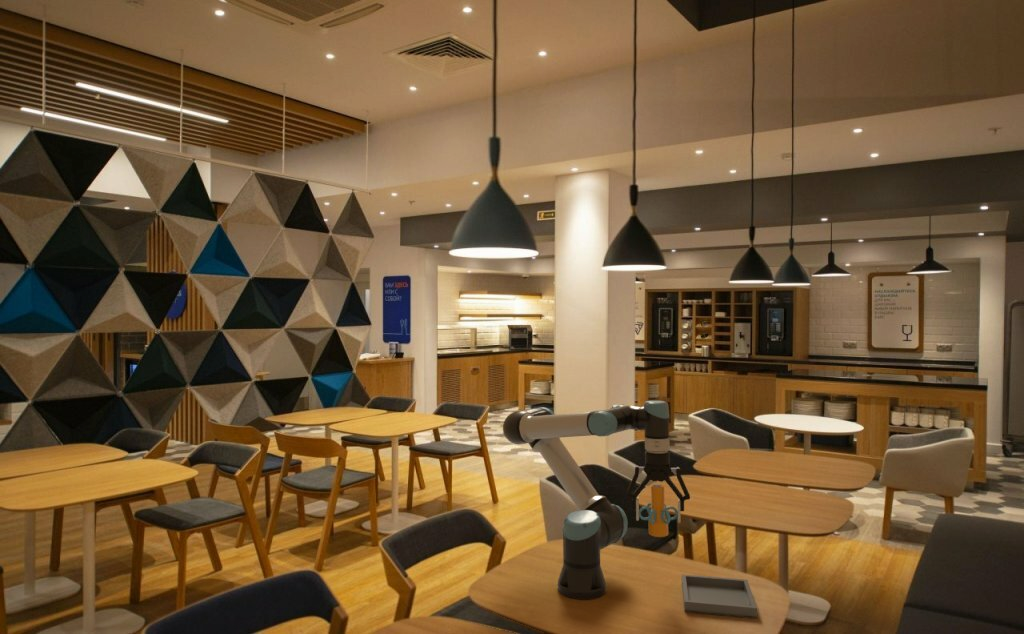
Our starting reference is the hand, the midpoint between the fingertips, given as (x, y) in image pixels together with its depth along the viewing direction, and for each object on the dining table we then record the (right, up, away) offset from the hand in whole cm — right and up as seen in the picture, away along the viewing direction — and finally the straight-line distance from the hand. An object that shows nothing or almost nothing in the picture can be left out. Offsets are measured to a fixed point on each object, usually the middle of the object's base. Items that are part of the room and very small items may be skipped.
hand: (658, 520), depth 200 cm
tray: (+17, -23, -5) cm, 29 cm away
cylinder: (0, -5, 0) cm, 5 cm away
